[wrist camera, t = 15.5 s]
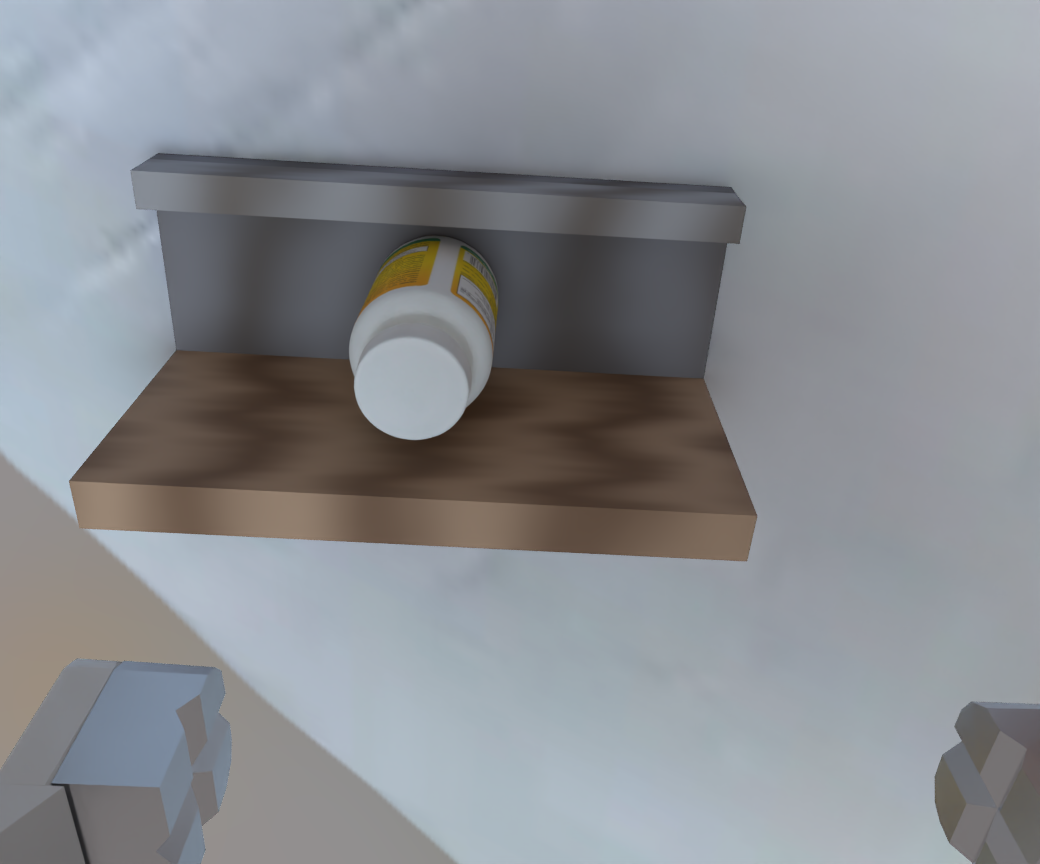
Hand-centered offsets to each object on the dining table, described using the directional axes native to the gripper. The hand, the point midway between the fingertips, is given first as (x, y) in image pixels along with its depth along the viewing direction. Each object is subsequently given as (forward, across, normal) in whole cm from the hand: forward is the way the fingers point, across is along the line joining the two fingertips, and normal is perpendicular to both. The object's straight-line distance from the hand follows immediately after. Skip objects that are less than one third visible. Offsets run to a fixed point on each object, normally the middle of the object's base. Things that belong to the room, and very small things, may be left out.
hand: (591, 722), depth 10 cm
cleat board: (+31, -4, -7) cm, 32 cm away
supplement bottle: (+30, -4, -6) cm, 31 cm away
